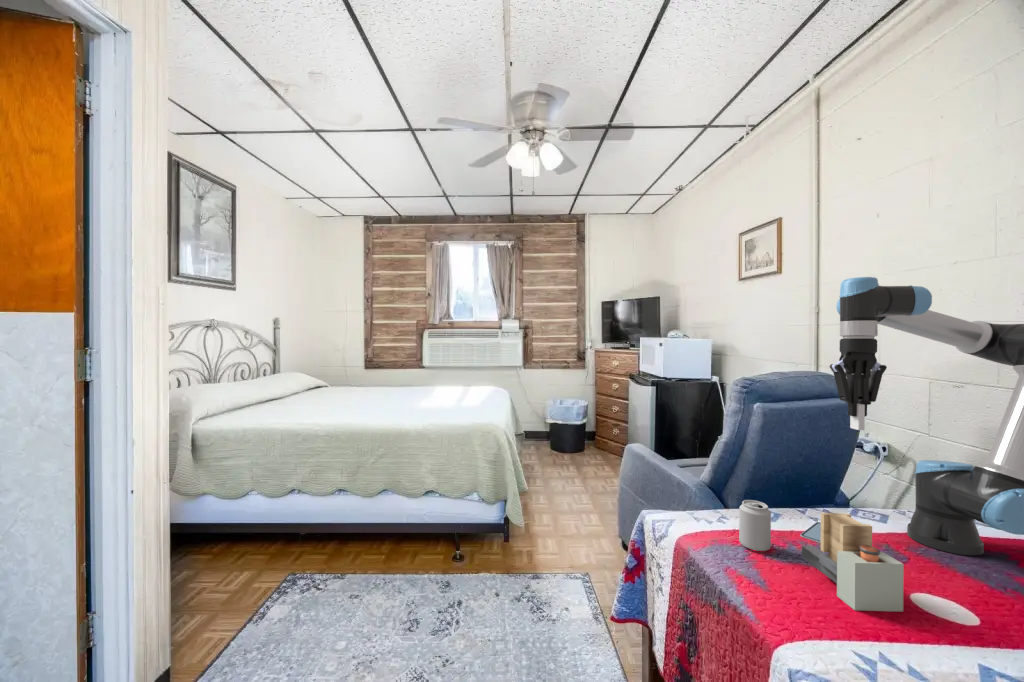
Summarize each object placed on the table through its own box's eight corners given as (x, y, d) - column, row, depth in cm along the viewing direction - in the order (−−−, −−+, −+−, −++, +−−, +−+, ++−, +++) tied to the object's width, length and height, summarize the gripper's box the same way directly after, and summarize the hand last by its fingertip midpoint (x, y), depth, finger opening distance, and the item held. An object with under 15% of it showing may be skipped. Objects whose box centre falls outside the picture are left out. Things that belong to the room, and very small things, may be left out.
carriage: (848, 573, 100) (849, 513, 100) (873, 590, 93) (873, 526, 93) (819, 572, 100) (819, 512, 100) (841, 589, 93) (841, 525, 94)
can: (775, 555, 111) (775, 510, 111) (744, 552, 112) (744, 507, 112) (764, 541, 118) (764, 499, 118) (735, 539, 119) (735, 497, 119)
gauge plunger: (870, 563, 92) (870, 544, 92) (884, 571, 88) (884, 552, 88) (855, 562, 92) (855, 544, 92) (867, 571, 89) (868, 552, 89)
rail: (813, 557, 110) (813, 545, 110) (866, 596, 93) (866, 583, 93) (801, 556, 110) (801, 545, 110) (852, 596, 93) (852, 582, 93)
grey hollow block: (882, 597, 93) (882, 552, 93) (903, 611, 88) (903, 564, 88) (836, 595, 93) (837, 551, 93) (854, 610, 88) (855, 563, 88)
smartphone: (799, 535, 122) (817, 521, 131) (799, 537, 122) (817, 524, 131) (829, 544, 116) (846, 529, 125) (829, 547, 116) (846, 532, 125)
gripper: (871, 338, 111) (870, 426, 111) (822, 337, 111) (821, 425, 111) (896, 338, 104) (896, 432, 104) (843, 337, 104) (842, 431, 104)
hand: (857, 428), depth 107 cm, fingers closed
